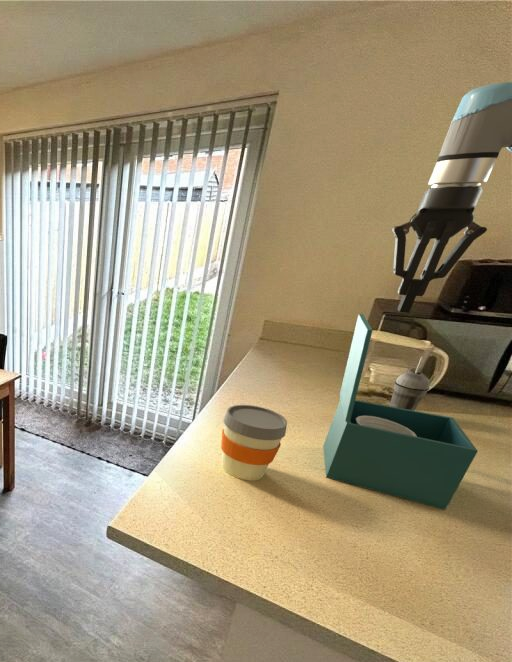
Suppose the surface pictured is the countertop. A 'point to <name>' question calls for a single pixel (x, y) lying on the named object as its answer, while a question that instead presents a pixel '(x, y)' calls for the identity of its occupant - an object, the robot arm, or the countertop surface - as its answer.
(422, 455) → the lidded box
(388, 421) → the plastic cup
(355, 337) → the lid
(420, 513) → the countertop surface
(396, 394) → the beverage cup
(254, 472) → the reusable coffee cup
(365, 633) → the countertop surface
